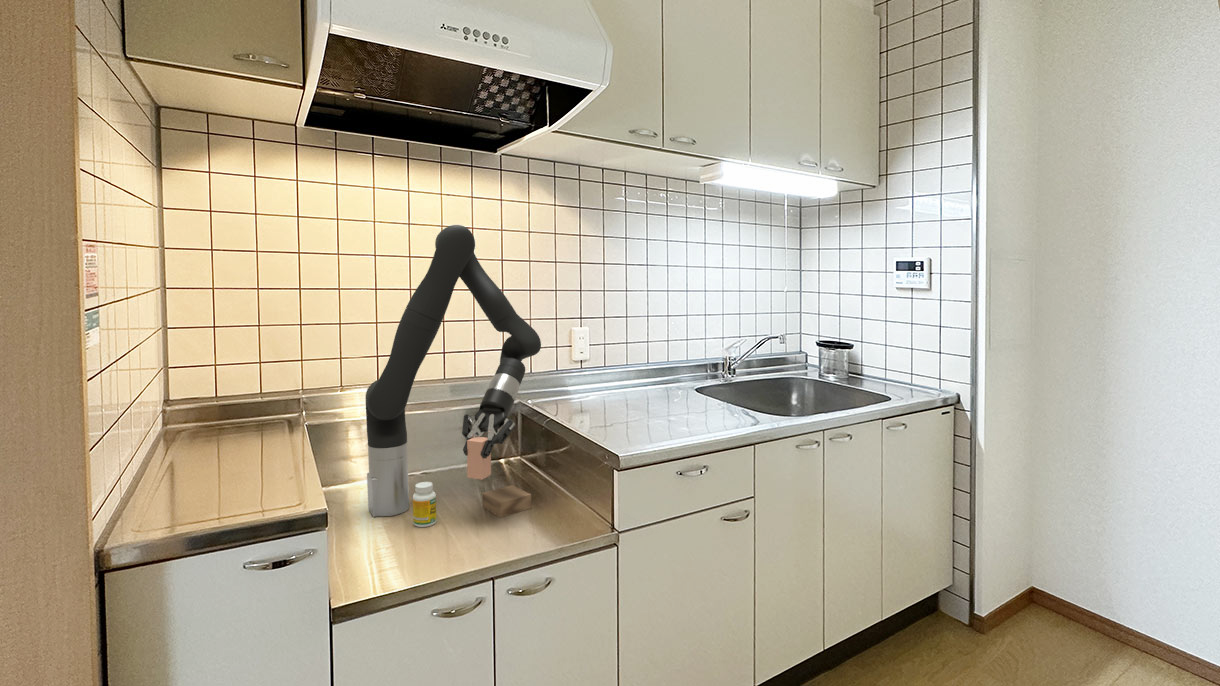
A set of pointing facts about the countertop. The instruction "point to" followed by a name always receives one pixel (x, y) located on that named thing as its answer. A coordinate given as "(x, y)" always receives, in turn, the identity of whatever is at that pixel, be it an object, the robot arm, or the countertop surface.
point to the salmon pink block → (477, 459)
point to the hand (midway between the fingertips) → (474, 455)
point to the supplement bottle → (424, 505)
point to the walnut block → (506, 500)
